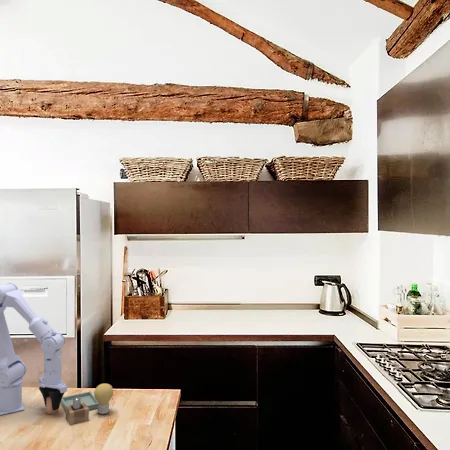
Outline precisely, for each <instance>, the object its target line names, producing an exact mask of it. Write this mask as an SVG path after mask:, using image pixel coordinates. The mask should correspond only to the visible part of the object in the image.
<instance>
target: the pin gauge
mask: <svg viewBox="0 0 450 450" xmlns="http://www.w3.org/2000/svg"><path fill="white" fill-rule="evenodd" d="M78 409H81V398H80V397H75V398H73V411H74V410H78Z"/></svg>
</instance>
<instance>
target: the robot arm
mask: <svg viewBox="0 0 450 450" xmlns="http://www.w3.org/2000/svg"><path fill="white" fill-rule="evenodd" d="M7 308H13V309H14V310H15V311H16V312H17V313H18V314H19V315H20V316H21V317H22V318H23V320H24V321H26V322H27V323H28V330H29V331H30V333H31V334H32V335H33V336H34V337H35V338H36V339H37V340H38V342H39V343H40V350H41V351H42V354H43V375H42V376H40V377H38V383H39V384H40V386H39V387H38V390H39V391H40V393H41V395H42V398H43V402H44V406H45V407H46V400H47V397H48V396H50V397H51V402H52V410H53V411H54V410H57V409H58V410H59V409H60V406H61V400H62V397H64V395H65V393H66V392H67V391H68V386H67V385H66V384H65V382H64V381H63V380H62V358H63V355H62V353H63V352H62V351H63V349H62V348H63V347H64V345H65V344H66V343H65V342H66V341H65V337H64V335H63V333H61V332H58V331H56V330H54V328H53V327H52V326H51V325H50V324H49V323H48V322H49V321H48V320H47V319H46V318H44V317H40V316H38V315H37V314H36V313H35V311H34V310H33V309H32V307H31V306H30V304H29V303H28V302H27V300H26V299H25V298H24V296H23V293H22V290H21V289H19V287H18V285H16V284H15V283H11V282H8V283H6V284H2V285H0V416H3V415H7V414H12V413H16V412H21V411H25V406H24V404H23V381H24V380H23V377H24V376H26V372H27V366H26V365H25V363H24V362H23V360H22V357H21V356H20V355H18V354H16V353H15V349H14V345H13V342H12V339H11V335H10V331H9V327H8V324H7V323H8V322H7V319H6V317H5V310H6V309H7Z"/></svg>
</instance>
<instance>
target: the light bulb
mask: <svg viewBox="0 0 450 450" xmlns="http://www.w3.org/2000/svg"><path fill="white" fill-rule="evenodd" d="M93 395H94V396H95V399H96V400H97V402H98V403H99V404H98V409H97V412H98V414H100V415H105V414H108V413H109V412H110V401H111V399H112V398H113V396H114V388H113V386H112V385H111V384H109V383H100V384H98V385H97V386H96V388H95V390H94V394H93Z"/></svg>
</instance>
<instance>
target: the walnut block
mask: <svg viewBox="0 0 450 450" xmlns="http://www.w3.org/2000/svg"><path fill="white" fill-rule="evenodd" d="M89 412H90V411H89V408H88V407H87V405H86V404H85V403H84V402H81V409H78V410H74V411H73V405H68V406H66V411H65V419H66V420H67V422H68V424H69V426H72V425H76V424H80V423H84V422H88V421H89V419H90V418H89V417H90V416H89V414H90V413H89Z"/></svg>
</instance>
